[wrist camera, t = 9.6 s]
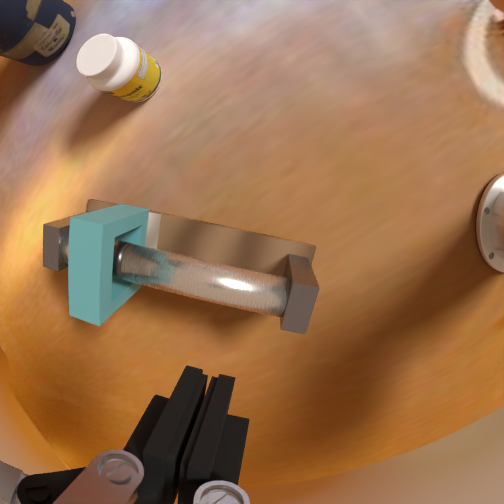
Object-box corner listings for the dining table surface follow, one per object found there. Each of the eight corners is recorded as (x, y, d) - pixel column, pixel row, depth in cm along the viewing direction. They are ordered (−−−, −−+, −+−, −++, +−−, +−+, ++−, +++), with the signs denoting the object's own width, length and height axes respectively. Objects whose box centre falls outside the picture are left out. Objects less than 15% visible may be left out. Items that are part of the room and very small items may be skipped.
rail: (307, 255, 32) (319, 287, 23) (297, 291, 33) (305, 334, 24) (93, 210, 32) (43, 224, 23) (91, 243, 33) (43, 266, 24)
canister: (33, 21, 26) (-51, -13, 9) (85, -4, 25) (3, -60, 8) (24, 77, 28) (-74, 56, 11) (77, 54, 28) (-27, 10, 10)
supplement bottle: (115, 105, 29) (63, 87, 20) (123, 60, 28) (76, 31, 18) (160, 103, 29) (117, 80, 19) (167, 57, 28) (129, 20, 18)
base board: (314, 245, 31) (316, 247, 31) (299, 302, 33) (300, 306, 32) (91, 199, 32) (87, 200, 31) (87, 252, 33) (83, 254, 33)
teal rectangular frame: (149, 209, 28) (103, 224, 20) (140, 287, 30) (99, 326, 22) (122, 203, 28) (70, 217, 20) (115, 280, 30) (69, 315, 22)
